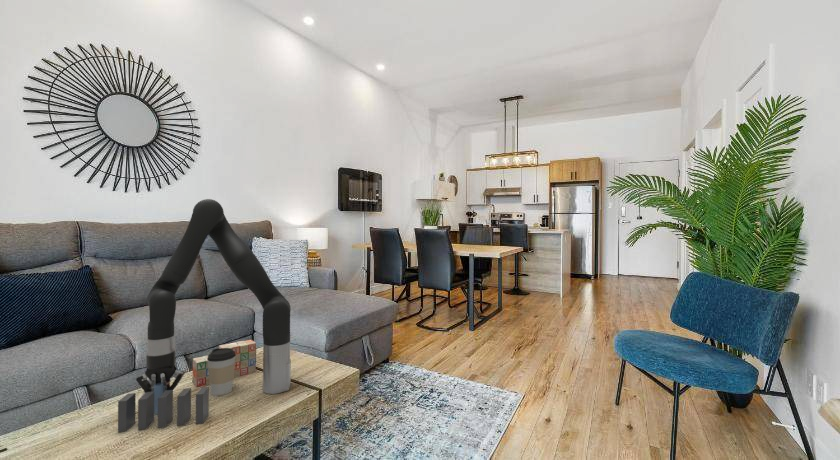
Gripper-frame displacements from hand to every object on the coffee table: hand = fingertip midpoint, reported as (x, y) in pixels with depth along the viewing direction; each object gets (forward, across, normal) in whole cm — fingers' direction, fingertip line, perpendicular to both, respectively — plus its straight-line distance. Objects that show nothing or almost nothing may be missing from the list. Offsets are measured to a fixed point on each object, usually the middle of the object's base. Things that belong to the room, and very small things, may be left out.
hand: (160, 403), depth 115 cm
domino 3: (+2, -5, +9) cm, 10 cm away
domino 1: (+2, +5, +9) cm, 11 cm away
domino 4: (+2, -10, +9) cm, 14 cm away
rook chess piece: (+2, +7, -8) cm, 11 cm away
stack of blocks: (+2, -13, -24) cm, 27 cm away
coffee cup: (+2, -15, -10) cm, 18 cm away
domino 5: (+2, -15, +9) cm, 18 cm away
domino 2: (+2, 0, +9) cm, 9 cm away
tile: (+2, 0, 0) cm, 2 cm away
